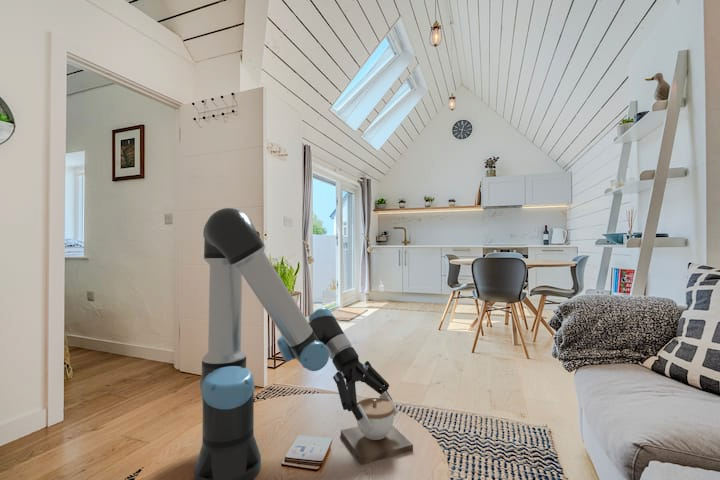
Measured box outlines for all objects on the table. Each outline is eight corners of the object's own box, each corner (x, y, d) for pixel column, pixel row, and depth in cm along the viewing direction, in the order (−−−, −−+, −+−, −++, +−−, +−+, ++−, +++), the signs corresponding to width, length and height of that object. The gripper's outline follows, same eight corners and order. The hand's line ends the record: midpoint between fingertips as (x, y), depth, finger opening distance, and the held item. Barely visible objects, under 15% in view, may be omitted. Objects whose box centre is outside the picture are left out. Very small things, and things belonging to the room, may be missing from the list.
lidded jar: (396, 444, 91) (395, 408, 91) (355, 444, 91) (355, 408, 91) (392, 424, 101) (392, 391, 102) (356, 424, 102) (355, 392, 102)
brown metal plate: (361, 464, 86) (361, 458, 86) (340, 435, 100) (340, 430, 100) (413, 450, 92) (412, 444, 92) (386, 424, 106) (386, 419, 106)
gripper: (360, 352, 116) (399, 413, 105) (306, 370, 99) (346, 446, 87) (373, 338, 112) (414, 400, 101) (319, 354, 95) (362, 431, 84)
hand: (383, 421), depth 94 cm, fingers closed on lidded jar, 11 cm apart
